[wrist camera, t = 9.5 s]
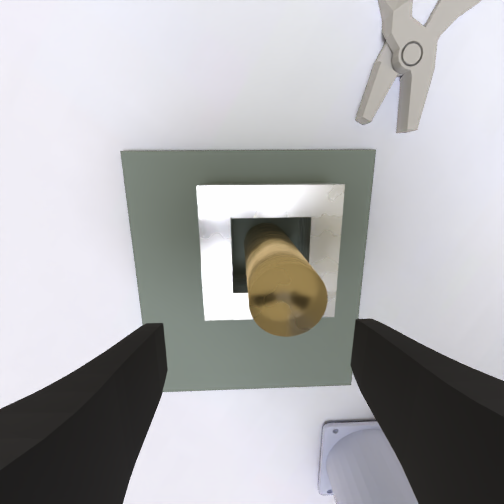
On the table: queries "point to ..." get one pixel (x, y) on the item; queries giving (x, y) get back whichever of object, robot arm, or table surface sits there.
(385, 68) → the pliers
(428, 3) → the table surface
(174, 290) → the mat
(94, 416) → the robot arm
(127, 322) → the table surface
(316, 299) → the pin
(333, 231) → the silver square socket
